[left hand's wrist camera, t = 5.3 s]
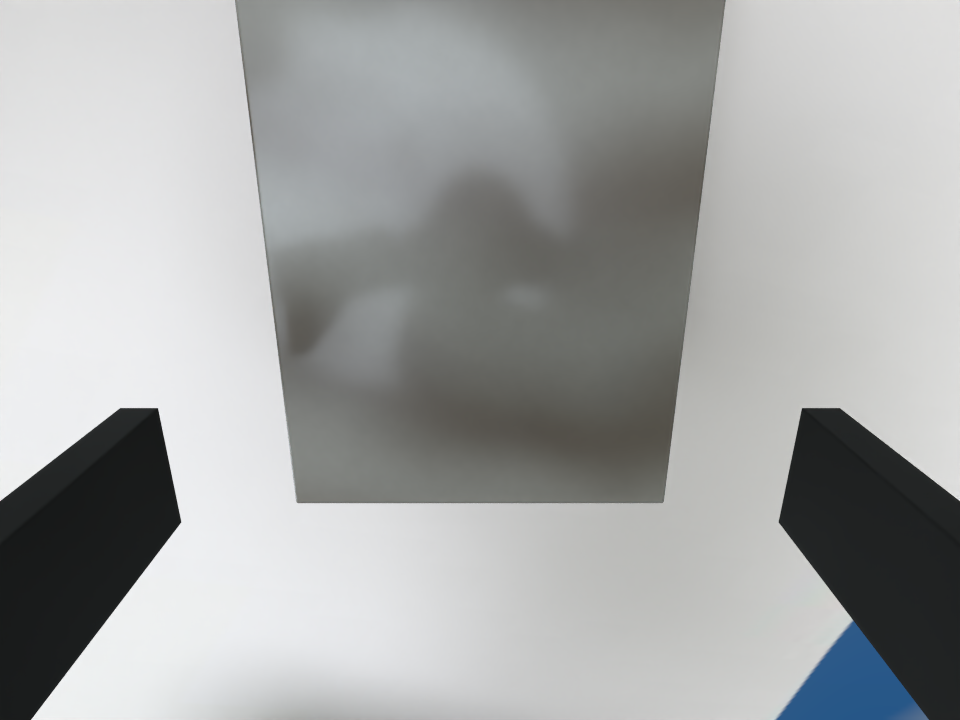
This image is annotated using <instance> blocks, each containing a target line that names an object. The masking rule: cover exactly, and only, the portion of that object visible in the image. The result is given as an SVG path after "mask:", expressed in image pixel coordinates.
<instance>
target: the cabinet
mask: <svg viewBox="0 0 960 720" xmlns="http://www.w3.org/2000/svg"><path fill="white" fill-rule="evenodd" d="M235 4H236V12H237V20H238V28H239V36H240V44H241V53H242V61H243V69H244V77H245V85H246V94H247V102H248V110H249V118H250V126H251V135H252V143H253V151H254V159H255V167H256V175H257V184H258V192H259V200H260V208H261V216H262V225H263V233H264V241H265V249H266V257H267V265H268V274H269V282H270V290H271V298H272V306H273V315H274V323H275V331H276V339H277V347H278V356H279V364H280V372H281V380H282V388H283V396H284V405H285V413H286V421H287V429H288V437H289V446H290V454H291V462H292V470H293V478H294V486H295V495H296V502H297V503H663V502H664V495H665V487H666V478H667V470H668V462H669V454H670V446H671V438H672V430H673V422H674V414H675V405H676V397H677V389H678V381H679V373H680V365H681V357H682V349H683V341H684V332H685V324H686V316H687V308H688V300H689V292H690V284H691V276H692V268H693V259H694V251H695V243H696V235H697V227H698V219H699V211H700V203H701V195H702V186H703V178H704V170H705V162H706V154H707V146H708V138H709V130H710V122H711V113H712V105H713V97H714V89H715V81H716V73H717V65H718V57H719V49H720V40H721V32H722V24H723V16H724V8H725V0H235Z"/></svg>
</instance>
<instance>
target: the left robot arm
mask: <svg viewBox="0 0 960 720" xmlns="http://www.w3.org/2000/svg"><path fill="white" fill-rule="evenodd" d="M180 523H181V519H180V514H179V509H178V504H177V499H176V494H175V489H174V484H173V480H172V475H171V470H170V465H169V460H168V455H167V450H166V446H165V441H164V436H163V431H162V426H161V421H160V416H159V411H158V408H120V409H119V410H117V411H116V412H115V413H114V414H112V415H111V416H110V417H108V418H107V419H106V420H104V421H103V422H102V423H101V424H99V425H98V426H97V427H95V428H94V429H93V430H92V431H90V432H89V433H88V434H86V435H85V436H84V437H83V438H81V439H80V440H79V441H77V442H76V443H75V444H74V445H72V446H71V447H70V448H68V449H67V450H66V451H64V452H63V453H62V454H61V455H59V456H58V457H57V458H55V459H54V460H53V461H52V462H50V463H49V464H48V465H46V466H45V467H44V468H43V469H41V470H40V471H39V472H37V473H36V474H35V475H33V476H32V477H31V478H30V479H28V480H27V481H26V482H24V483H23V484H22V485H21V486H19V487H18V488H17V489H15V490H14V491H13V492H12V493H10V494H9V495H8V496H6V497H5V498H4V499H2V500H1V501H0V720H31V719H32V718H33V716H34V715H35V714H36V712H37V711H38V710H39V708H40V707H41V706H42V705H43V703H44V702H45V701H46V699H47V698H48V697H49V695H50V694H51V693H52V691H53V690H54V689H55V687H56V686H57V685H58V683H59V682H60V681H61V680H62V678H63V677H64V676H65V674H66V673H67V672H68V670H69V669H70V668H71V666H72V665H73V664H74V662H75V661H76V660H77V659H78V657H79V656H80V655H81V653H82V652H83V651H84V649H85V648H86V647H87V645H88V644H89V643H90V641H91V640H92V639H93V638H94V636H95V635H96V634H97V632H98V631H99V630H100V628H101V627H102V626H103V624H104V623H105V622H106V620H107V619H108V618H109V616H110V615H111V614H112V613H113V611H114V610H115V609H116V607H117V606H118V605H119V603H120V602H121V601H122V599H123V598H124V597H125V595H126V594H127V593H128V592H129V590H130V589H131V588H132V586H133V585H134V584H135V582H136V581H137V580H138V578H139V577H140V576H141V574H142V573H143V572H144V570H145V569H146V568H147V567H148V565H149V564H150V563H151V561H152V560H153V559H154V557H155V556H156V555H157V553H158V552H159V551H160V549H161V548H162V547H163V546H164V544H165V543H166V542H167V540H168V539H169V538H170V536H171V535H172V534H173V532H174V531H175V530H176V528H177V527H178V526H179V525H180ZM779 523H780V525H781V526H782V527H783V528H784V530H785V531H786V532H787V534H788V535H789V536H790V538H791V539H792V540H793V542H794V543H795V544H796V546H797V547H798V548H799V549H800V551H801V552H802V553H803V555H804V556H805V557H806V559H807V560H808V561H809V563H810V564H811V565H812V567H813V568H814V569H815V570H816V572H817V573H818V574H819V576H820V577H821V578H822V580H823V581H824V582H825V584H826V585H827V586H828V588H829V589H830V590H831V592H832V593H833V594H834V595H835V597H836V598H837V599H838V601H839V602H840V603H841V605H842V606H843V607H844V609H845V610H846V611H847V613H848V614H849V615H850V616H851V618H852V619H853V620H854V622H855V623H856V624H857V626H858V627H859V628H860V630H861V631H862V632H863V634H864V635H865V636H866V637H867V639H868V640H869V641H870V643H871V644H872V645H873V647H874V648H875V649H876V651H877V652H878V653H879V654H880V656H881V657H882V658H883V660H884V661H885V662H886V664H887V665H888V666H889V668H890V669H891V670H892V672H893V673H894V674H895V676H896V677H897V678H898V680H899V681H900V682H901V683H902V685H903V686H904V687H905V689H906V690H907V691H908V693H909V694H910V695H911V697H912V698H913V699H914V700H915V702H916V703H917V704H918V706H919V707H920V708H921V710H922V711H923V712H924V714H925V715H926V716H927V718H928V719H929V720H960V501H959V500H958V499H956V498H955V497H954V496H952V495H951V494H950V493H948V492H947V491H946V490H945V489H943V488H942V487H941V486H939V485H938V484H937V483H936V482H934V481H933V480H932V479H930V478H929V477H928V476H927V475H925V474H924V473H923V472H921V471H920V470H919V469H917V468H916V467H915V466H914V465H912V464H911V463H910V462H908V461H907V460H906V459H905V458H903V457H902V456H901V455H899V454H898V453H897V452H896V451H894V450H893V449H892V448H890V447H889V446H888V445H886V444H885V443H884V442H883V441H881V440H880V439H879V438H877V437H876V436H875V435H874V434H872V433H871V432H870V431H868V430H867V429H866V428H865V427H863V426H862V425H861V424H859V423H858V422H857V421H856V420H854V419H853V418H852V417H850V416H849V415H848V414H846V413H845V412H844V411H843V410H841V409H840V408H802V411H801V416H800V421H799V426H798V431H797V436H796V441H795V446H794V450H793V455H792V460H791V465H790V470H789V475H788V480H787V484H786V489H785V494H784V499H783V504H782V509H781V514H780V519H779Z"/></svg>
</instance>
